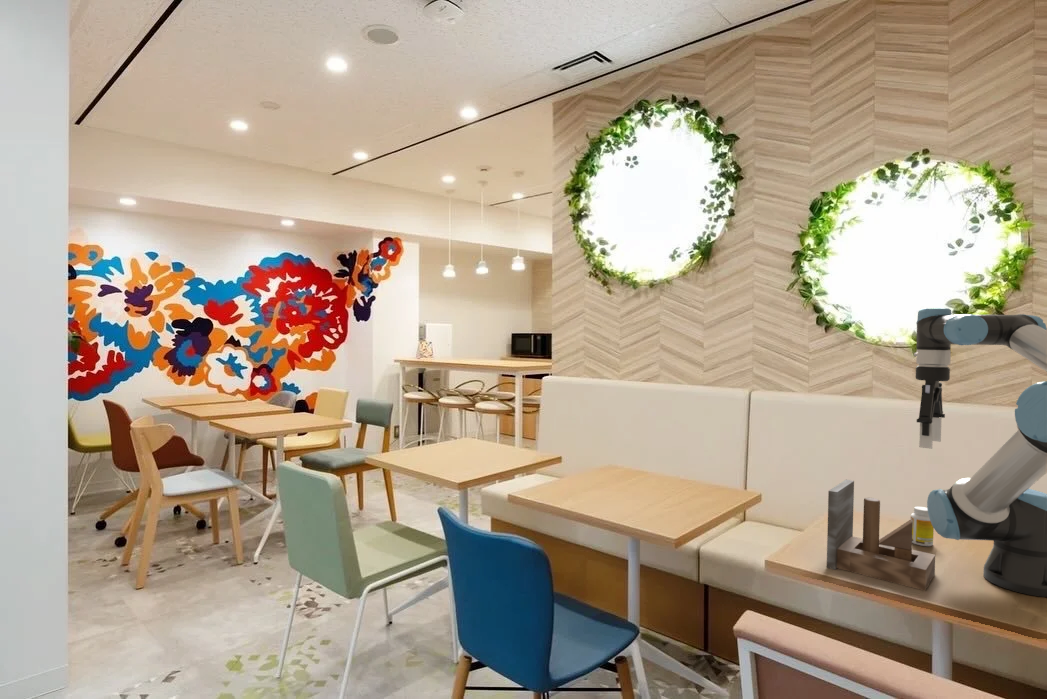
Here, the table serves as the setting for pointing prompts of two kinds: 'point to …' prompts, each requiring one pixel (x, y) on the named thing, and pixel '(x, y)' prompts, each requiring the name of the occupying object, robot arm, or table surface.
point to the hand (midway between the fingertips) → (930, 444)
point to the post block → (853, 558)
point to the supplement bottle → (921, 527)
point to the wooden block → (896, 538)
